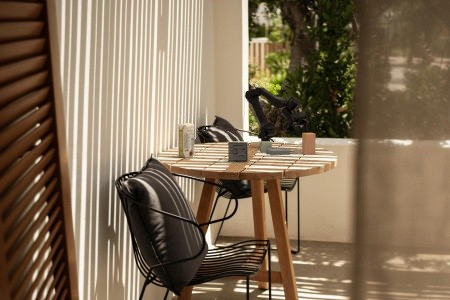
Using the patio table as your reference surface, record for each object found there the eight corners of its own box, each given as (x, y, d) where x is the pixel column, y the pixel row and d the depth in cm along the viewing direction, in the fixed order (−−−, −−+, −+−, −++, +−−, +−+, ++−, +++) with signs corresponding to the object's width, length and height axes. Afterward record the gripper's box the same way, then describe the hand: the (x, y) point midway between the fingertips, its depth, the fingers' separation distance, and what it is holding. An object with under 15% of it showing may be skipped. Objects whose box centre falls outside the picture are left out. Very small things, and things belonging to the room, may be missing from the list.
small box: (247, 160, 437) (248, 141, 436) (247, 162, 431) (247, 143, 429) (229, 160, 438) (229, 141, 437) (227, 161, 432) (228, 142, 430)
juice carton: (196, 156, 451) (196, 123, 449) (185, 158, 445) (185, 124, 443) (187, 155, 457) (186, 122, 454) (176, 156, 450) (176, 124, 448)
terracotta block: (302, 153, 467) (302, 133, 465) (311, 152, 468) (311, 132, 467) (305, 154, 461) (306, 134, 459) (315, 154, 462) (315, 133, 461)
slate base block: (265, 153, 467) (266, 148, 467) (283, 153, 470) (283, 148, 470) (271, 156, 457) (272, 151, 456) (289, 155, 460) (289, 150, 459)
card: (290, 150, 479) (290, 149, 479) (303, 149, 481) (303, 149, 481) (295, 151, 472) (295, 151, 472) (307, 151, 474) (307, 150, 474)
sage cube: (259, 151, 475) (259, 141, 474) (268, 151, 477) (268, 141, 476) (262, 152, 469) (262, 142, 469) (271, 152, 471) (271, 142, 470)
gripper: (287, 107, 461) (301, 127, 454) (306, 105, 474) (321, 125, 468) (276, 120, 467) (290, 139, 461) (296, 118, 480) (310, 137, 474)
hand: (303, 135), depth 466 cm, fingers open, 9 cm apart
